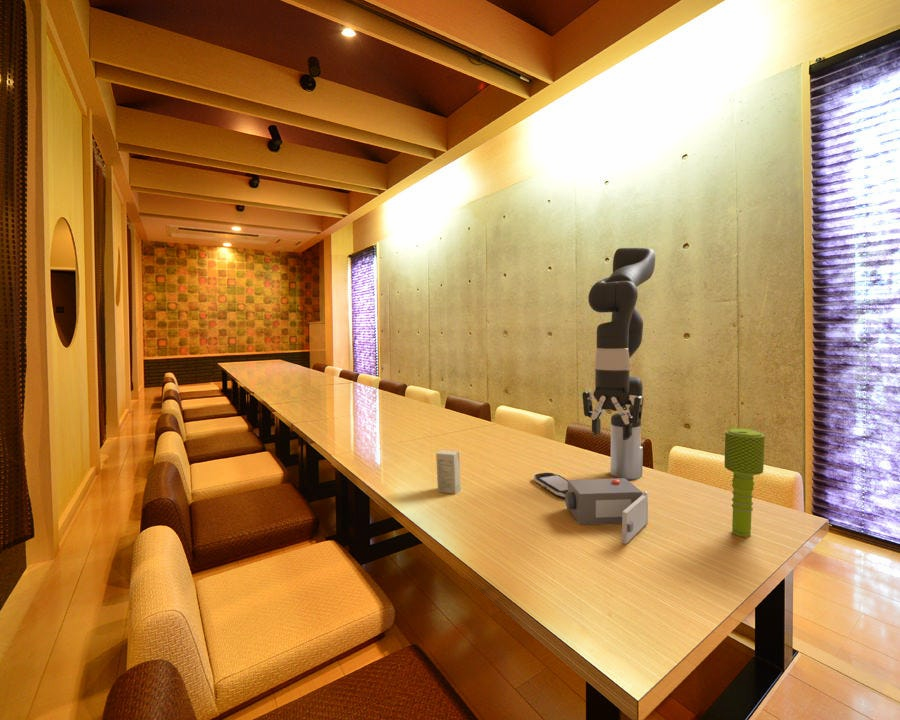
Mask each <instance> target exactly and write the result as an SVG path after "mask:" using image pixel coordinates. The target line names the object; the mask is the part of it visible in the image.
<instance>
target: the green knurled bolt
mask: <svg viewBox="0 0 900 720" xmlns="http://www.w3.org/2000/svg"><path fill="white" fill-rule="evenodd" d="M724 435H725V437H724V462H723V463H724V464H723V465H724V468H725V469H726V470H728V471H729V472H732V474H733V475H732V480H731V483H732V484H731V486H732V489H733V491H732V492H731V493H732V495H733V497H732V498H731V501H732V503H731V507H732V518H731V519H732V522H731V524H732V525H731V527H732V529H731V532H732V533H733V534H734V535H736V536H739V537H742V538H743V537H744V538H749V537H751V534H752V532H751V530H752V512H753V510H754V508H753V504H754V502H753V499H752V498H753V497H754V495H753V491H754V489H755V487H754V486H755V482H754V476H758V475H761V474H763V473H764V464H765V463H764V461H765V436H766V435H765V434H764V433H762V432H760V431H757V430H754V429H748V428H731V429H728V430H725V433H724Z"/></svg>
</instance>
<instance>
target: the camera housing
mask: <svg viewBox="0 0 900 720" xmlns="http://www.w3.org/2000/svg"><path fill="white" fill-rule="evenodd" d="M567 480H568V492H566V494H565V499H564V502H565V507H566V509H567V510H568V511H569V512H570V513H571V515H572V516H573V518H575V520H576V521H577V524H579V526H580V525H585V526H586V525H607V524H609V525H611V524H622V512H623V511H624V510H625V509H626V508H627V507H629V506H630V505H631V504H632V503H633V502H634V501H636V500H637V499H638V498H639V497H640V496H642V495H643V491H642V490H641V489H639V488H638V487H637V486H636V485H634V483H632V482H631V481H629V479H625V478H617V477H615V478H592V479H591V478H588V479H586V478H585V479H567Z"/></svg>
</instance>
